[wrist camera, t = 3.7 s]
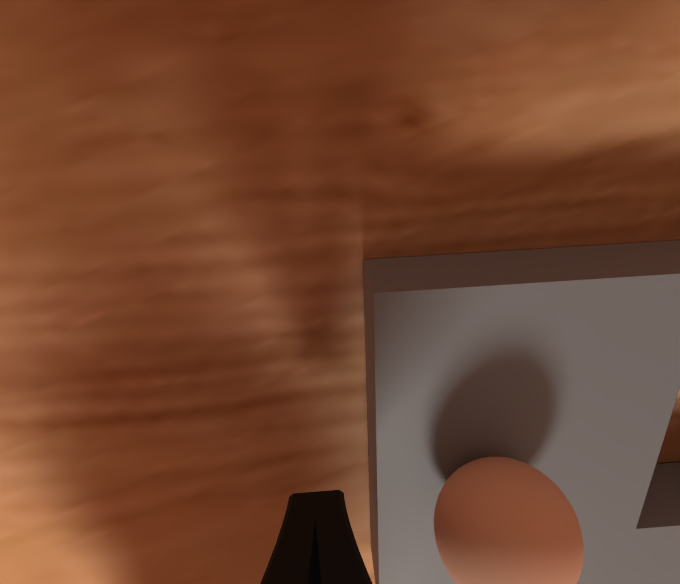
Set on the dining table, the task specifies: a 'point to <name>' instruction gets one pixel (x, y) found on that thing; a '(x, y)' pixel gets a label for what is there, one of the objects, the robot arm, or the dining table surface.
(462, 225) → the dining table surface
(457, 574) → the ball
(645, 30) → the dining table surface
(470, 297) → the hole deck
